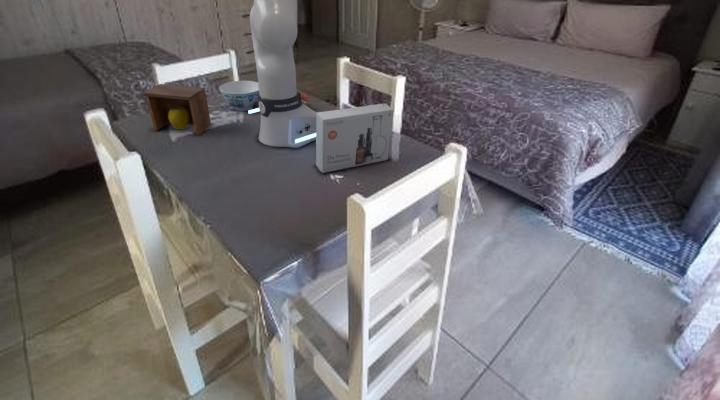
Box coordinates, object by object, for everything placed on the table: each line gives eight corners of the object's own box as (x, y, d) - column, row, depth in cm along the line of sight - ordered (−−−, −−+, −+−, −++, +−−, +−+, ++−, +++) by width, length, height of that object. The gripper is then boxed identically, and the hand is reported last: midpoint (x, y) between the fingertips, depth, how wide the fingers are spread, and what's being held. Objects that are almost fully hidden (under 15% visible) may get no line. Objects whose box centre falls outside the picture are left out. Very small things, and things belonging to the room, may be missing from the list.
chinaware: (272, 106, 148) (270, 85, 144) (243, 118, 137) (240, 96, 133) (243, 98, 154) (241, 78, 150) (213, 108, 143) (209, 87, 139)
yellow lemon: (182, 134, 124) (176, 109, 120) (166, 130, 126) (160, 106, 122) (196, 127, 129) (192, 103, 125) (181, 123, 131) (176, 100, 127)
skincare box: (323, 174, 106) (322, 119, 97) (315, 166, 110) (314, 111, 101) (389, 160, 115) (394, 108, 106) (380, 152, 119) (384, 101, 110)
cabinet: (169, 120, 133) (160, 83, 126) (211, 124, 131) (204, 87, 125) (153, 131, 125) (142, 92, 118) (197, 135, 124) (189, 97, 117)
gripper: (26, -57, 76) (55, 17, 86) (32, -79, 89) (57, -12, 98) (-15, -58, 74) (19, 19, 83) (-3, -80, 86) (26, -12, 96)
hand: (40, 2), depth 91 cm, fingers open, 8 cm apart
